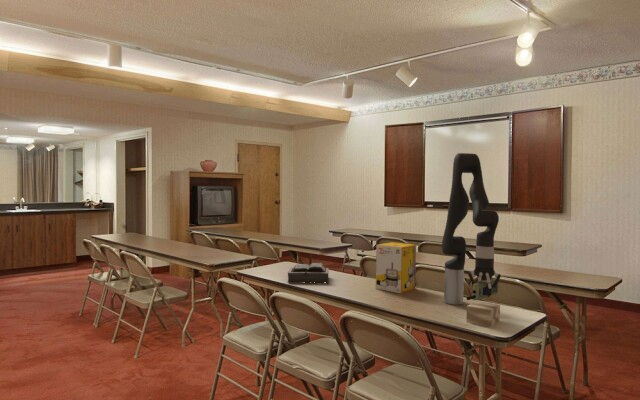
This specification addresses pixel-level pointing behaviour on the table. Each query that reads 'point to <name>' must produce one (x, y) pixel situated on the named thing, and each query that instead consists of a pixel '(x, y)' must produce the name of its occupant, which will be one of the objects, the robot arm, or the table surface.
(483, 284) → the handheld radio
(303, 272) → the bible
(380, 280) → the packaging box
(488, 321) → the birch block
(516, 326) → the table surface
